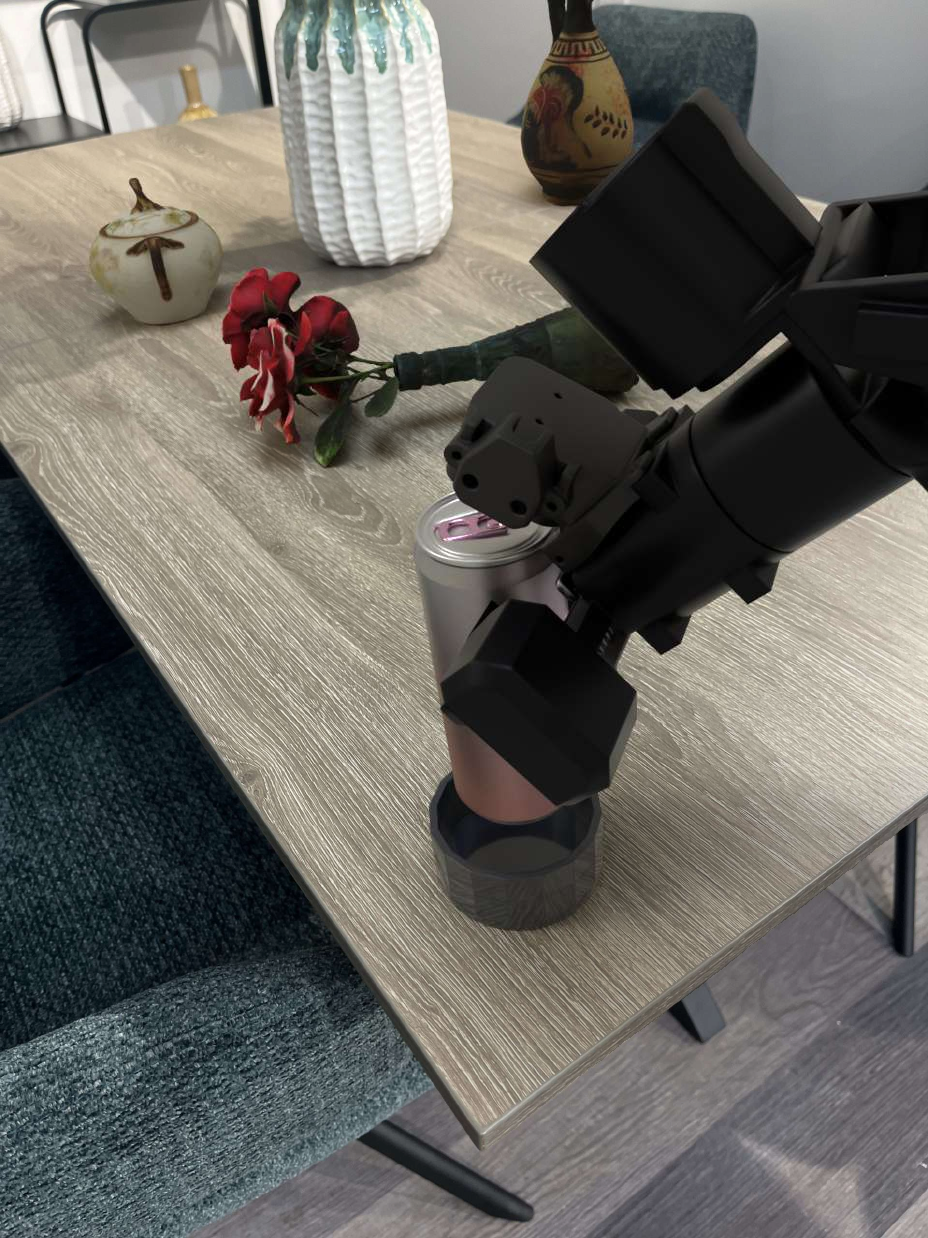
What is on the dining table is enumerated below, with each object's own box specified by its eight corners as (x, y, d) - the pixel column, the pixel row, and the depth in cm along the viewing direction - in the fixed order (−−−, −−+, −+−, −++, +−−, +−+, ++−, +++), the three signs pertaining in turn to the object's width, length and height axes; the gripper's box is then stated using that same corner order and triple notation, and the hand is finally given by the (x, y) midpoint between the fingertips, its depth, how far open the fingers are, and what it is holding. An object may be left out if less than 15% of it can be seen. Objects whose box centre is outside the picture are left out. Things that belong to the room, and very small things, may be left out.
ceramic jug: (656, 193, 140) (663, -67, 121) (564, 219, 134) (557, -49, 116) (584, 170, 152) (581, -69, 133) (497, 193, 146) (481, -53, 128)
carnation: (610, 454, 99) (253, 509, 93) (568, 286, 103) (221, 328, 96) (662, 382, 84) (239, 442, 78) (610, 188, 87) (202, 231, 81)
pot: (633, 885, 50) (635, 832, 48) (483, 958, 47) (476, 907, 45) (549, 777, 56) (546, 725, 54) (412, 837, 54) (402, 786, 51)
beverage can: (447, 752, 50) (400, 496, 41) (563, 728, 51) (542, 469, 42) (467, 844, 46) (419, 577, 37) (594, 817, 46) (579, 546, 37)
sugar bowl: (106, 296, 126) (66, 170, 117) (224, 274, 129) (195, 149, 120) (110, 354, 111) (65, 213, 102) (244, 327, 114) (212, 188, 105)
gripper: (654, 212, 39) (430, 440, 50) (470, 440, 26) (219, 683, 36) (843, 416, 41) (588, 593, 52) (762, 725, 28) (442, 876, 38)
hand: (476, 668), depth 44 cm, fingers closed on beverage can, 6 cm apart
